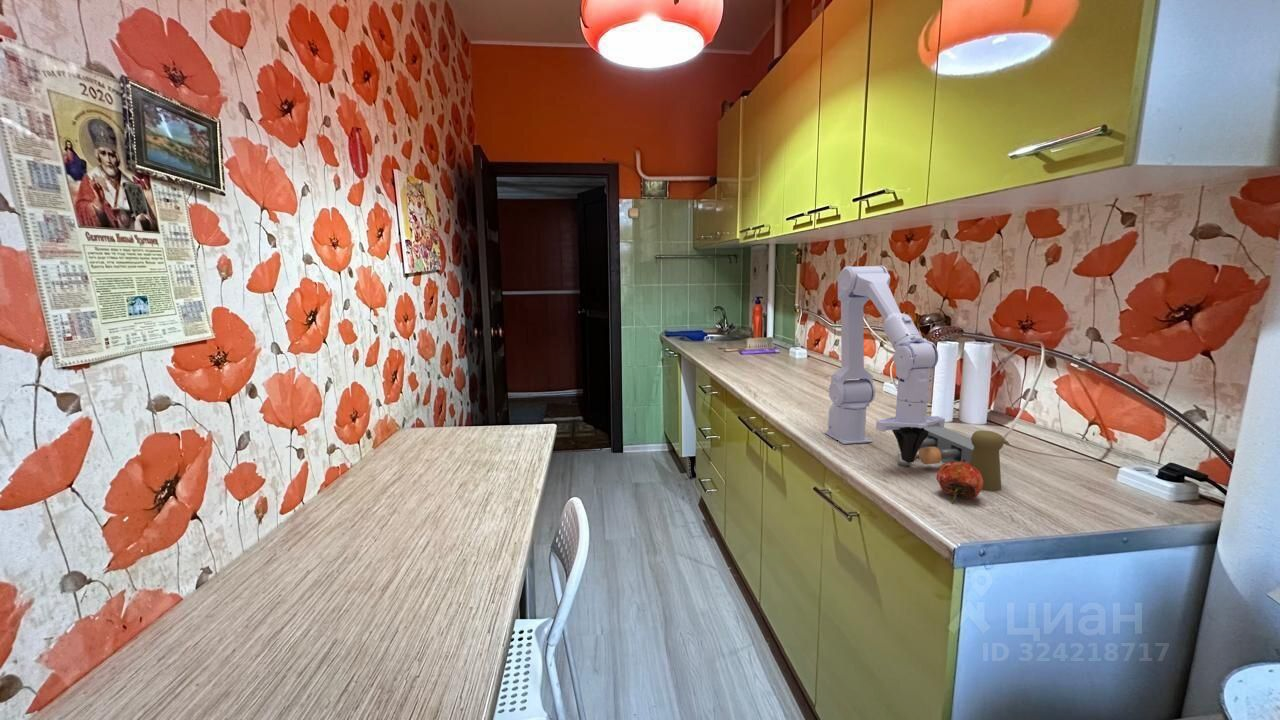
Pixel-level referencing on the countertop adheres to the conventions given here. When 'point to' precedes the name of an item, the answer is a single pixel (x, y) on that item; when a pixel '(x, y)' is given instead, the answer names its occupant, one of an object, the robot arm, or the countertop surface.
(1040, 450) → the countertop surface
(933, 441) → the cream knob
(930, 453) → the orange knob
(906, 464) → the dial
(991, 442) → the cork
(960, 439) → the mount
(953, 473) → the pomegranate
